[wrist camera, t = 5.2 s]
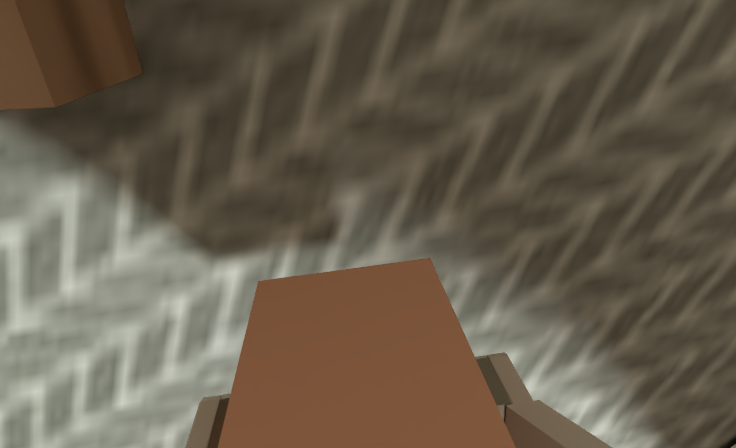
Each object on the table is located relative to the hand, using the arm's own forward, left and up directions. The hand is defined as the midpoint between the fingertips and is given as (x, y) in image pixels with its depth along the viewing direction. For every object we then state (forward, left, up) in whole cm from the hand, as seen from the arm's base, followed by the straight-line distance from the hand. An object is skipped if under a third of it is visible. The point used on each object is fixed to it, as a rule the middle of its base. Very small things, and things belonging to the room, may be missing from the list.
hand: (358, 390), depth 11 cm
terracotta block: (0, 0, -2) cm, 2 cm away
